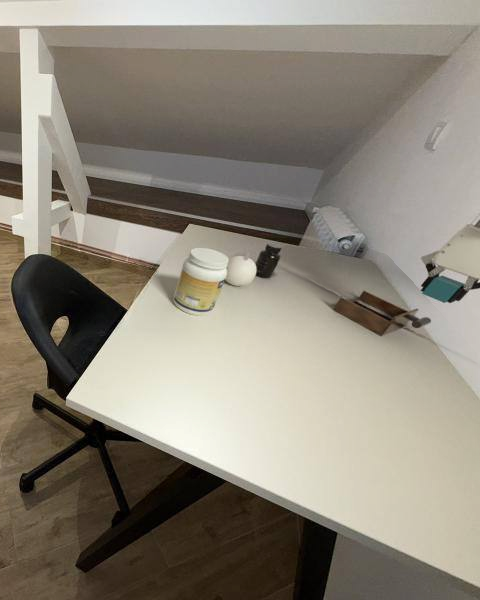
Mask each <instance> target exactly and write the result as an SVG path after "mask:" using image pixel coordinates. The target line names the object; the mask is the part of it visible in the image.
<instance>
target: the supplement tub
mask: <svg viewBox="0 0 480 600" xmlns="http://www.w3.org/2000/svg"><path fill="white" fill-rule="evenodd" d="M229 259H230V258H229V257H228V256H227V255H225V253H222V252H220V251H218V250H214V249H212V248H207V247H195V248H192V249H191V250H190V252H189V254H188V257H187V258H186V259H184V260H185V261H184V262H183V263H182V267H181V271H180V274H179V278H178V281H177V284H176V287H175V291H174V293H173V297H172V300H173V302H174V304H175V306H176V307H177V308H178V309H180V310H181V311H183V312H185V313H187V314H188V315H189V314H190V315H194V316H205V315H208V314H210V313H211V312H212V311H213V310H214V308H215V306H216V303H217V301H218V298H219V295H220V293H221V291H222V289H223V286H224V284H225V281H226V280H225V278H226V276H227V269H226V267H227V265H228V261H229Z"/></svg>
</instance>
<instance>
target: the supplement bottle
mask: <svg viewBox="0 0 480 600" xmlns="http://www.w3.org/2000/svg"><path fill="white" fill-rule="evenodd" d="M282 249H283V247H282V245H280V244H278V243H275V242H268V243H266V246H265V248H264V249H262V250H261V251H260V252H259V254H258V256H257V258H256V261H255V262H254V263H255V265H256V269H257V270H256V275H255V277H258V278H261V279H270V278H272V277H273V274H274V273H275V270H276V269H277V266H278V264H279V262H280V260H281V254H280V253H281V250H282Z"/></svg>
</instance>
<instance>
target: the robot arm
mask: <svg viewBox="0 0 480 600" xmlns="http://www.w3.org/2000/svg"><path fill="white" fill-rule="evenodd" d="M420 260H421V262H422V263H423V265H424V266H425V269H426V271H427V277H426V278H425V280H424V281H423V282H422V284H421V285H420V287H421V289H419V290H420V292H421V293H422V292H423V291H424V290H425V289H426V288H427V287H428V285H429V284H430V283H431V282H432V281H433V279H434V278H437V277H439V276H440V274H441V273H443V272H444V271H446V270H449V271H452V272H454V273H457V274H461V275H462V276H463V275H464V276H466V277H467V279H466V281H465V283H464V284H465V285H464V286H462V287H461V288H459V289H458V290H457V291H456V292H455V293H454V294H453V295H452V296H451V298H450V299H449V300H448V302H447V303H448V304H452V303H455V302H460V301H461V300H462V299H463V298H464V297H466V295H467V294H468V292H470V291H471V290H473V291H474V290H479V289H480V282H479V281H480V213H479V214H478V215H477V216H476V217H475V218H474V220H472V222H471V224H465V225H464V226H463V227H462V228H460V229H459V230H458V231H457V232H455V234H454V235H452V237H451V238H449V240H448V241H447V242H445V244H444V245H443V246H442V247H441V248H440V249H439V250H437V251H433V252H431V253H428V254H426V255H423V256H421V257H420Z"/></svg>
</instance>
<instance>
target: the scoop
mask: <svg viewBox="0 0 480 600" xmlns="http://www.w3.org/2000/svg"><path fill="white" fill-rule="evenodd" d="M357 300H358V301H360V302H362V303H364V304H366V305H364V304H362V303H360V302H358V301H357ZM357 300H354V301H350V300H348V299H346V298H344V297H342V296H341V297H340V298H339V300H338V301H337V302H336V303H335V305H334V307H333V308H332V311H334V312H336V313H338V314H340V315H342V316H344V317H345V318H347V319H349V320H351V321H353V322H355V323H357V324H358V325H360V326H361V327H363V328H365V329H367V330H369V331H371V332H372V333H374V334H376V335H378V336H380V337H383V336H386V335H388V334H390V333H392V332H395V331H397V330H399V329H403V328H404V327H406V324H408V323H409V322H411V327H412V328H414V329H419V328H422V327H424V326H426V325H429V324H431V322H432V320H431V318H429V317H427V316H426V317H425V316H424V317H421V318H420V317H417V316H415V315H416V314H417V313H418V312H419V310H420V309H419V308H415V309H412V310H407V309H404V308H402V307H400V306H398V305H396V304H394V303H392V302H390V301H388V300H385V299H384V298H381V297H380V296H377V295H374V294H373V293H370V292H368V291H367V290H363V291H362V292H361V294H360V295H359V297H358V298H357ZM367 305H368V306H370V307H373V308H374V309H372V308H370V307H368V306H367ZM375 309H376V310H379V311H381V313H380V312H379V311H376V310H375ZM382 312H383V313H384V314H386V315H384V314H382ZM387 315H389V316H390V317H388V316H387ZM391 317H392V318H391Z"/></svg>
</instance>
